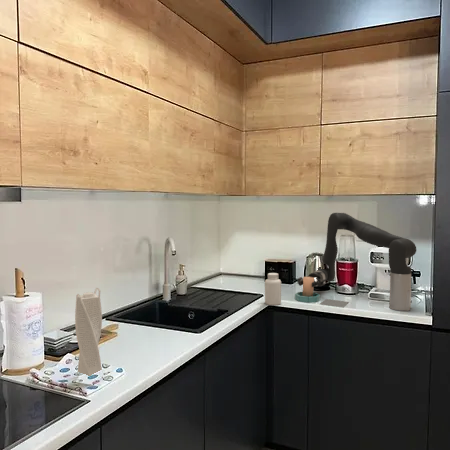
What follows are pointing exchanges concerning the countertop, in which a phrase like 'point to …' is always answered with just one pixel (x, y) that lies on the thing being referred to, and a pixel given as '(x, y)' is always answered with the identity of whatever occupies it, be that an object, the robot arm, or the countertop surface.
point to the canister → (308, 286)
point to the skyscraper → (88, 331)
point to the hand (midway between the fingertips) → (306, 284)
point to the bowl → (307, 299)
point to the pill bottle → (273, 289)
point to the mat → (334, 303)
